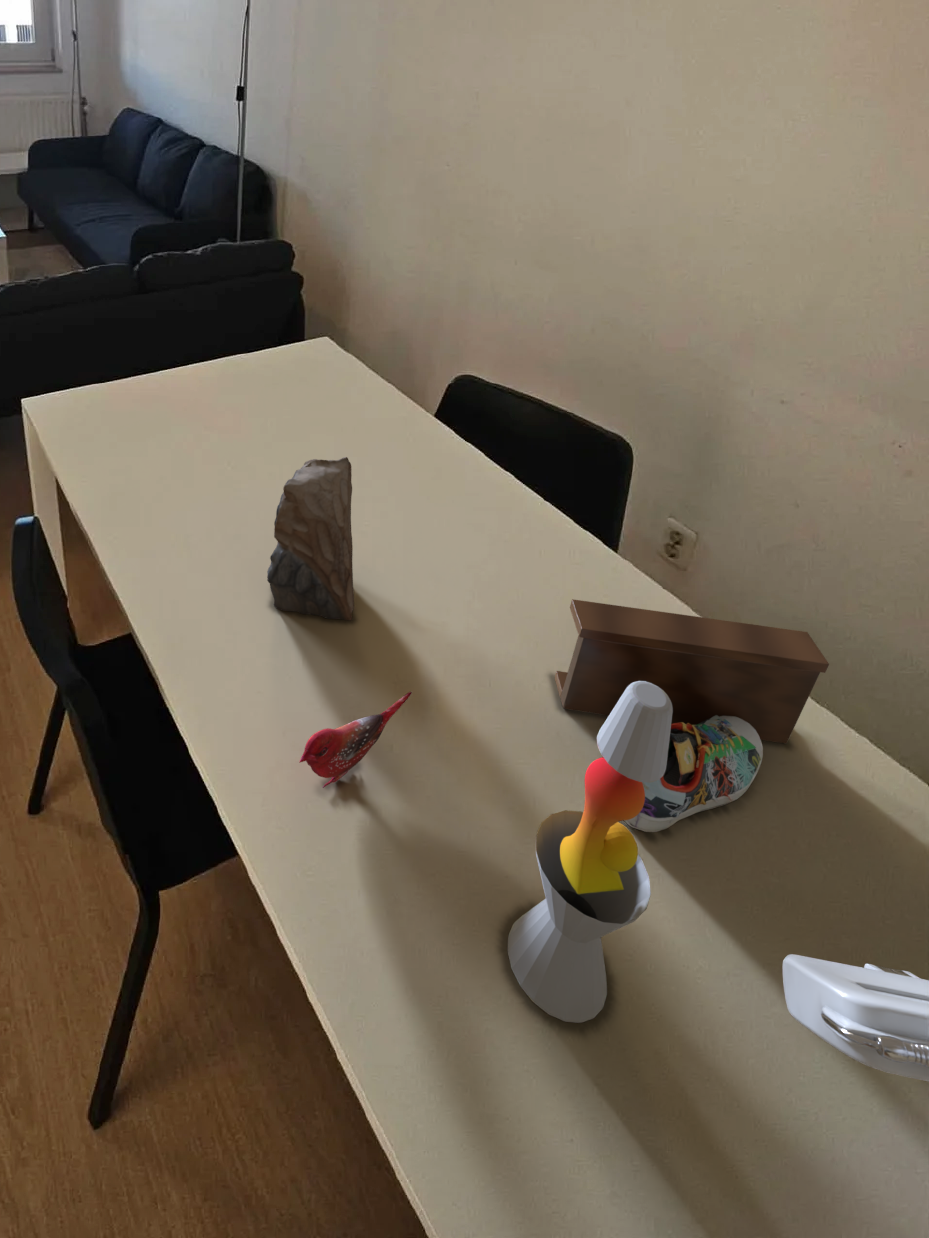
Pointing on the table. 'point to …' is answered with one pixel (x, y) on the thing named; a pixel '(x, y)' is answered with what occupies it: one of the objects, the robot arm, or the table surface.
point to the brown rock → (314, 542)
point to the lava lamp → (592, 864)
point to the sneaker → (701, 771)
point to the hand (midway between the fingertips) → (885, 979)
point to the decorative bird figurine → (345, 744)
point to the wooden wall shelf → (691, 666)
